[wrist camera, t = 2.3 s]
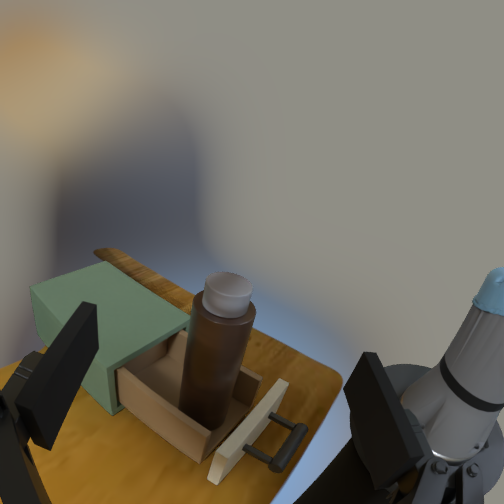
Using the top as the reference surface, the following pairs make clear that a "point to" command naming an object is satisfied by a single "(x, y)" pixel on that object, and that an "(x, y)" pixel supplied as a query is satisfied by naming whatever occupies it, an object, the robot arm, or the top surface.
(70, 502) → the top surface
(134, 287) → the cabinet
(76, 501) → the top surface
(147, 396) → the drawer
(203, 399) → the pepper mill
